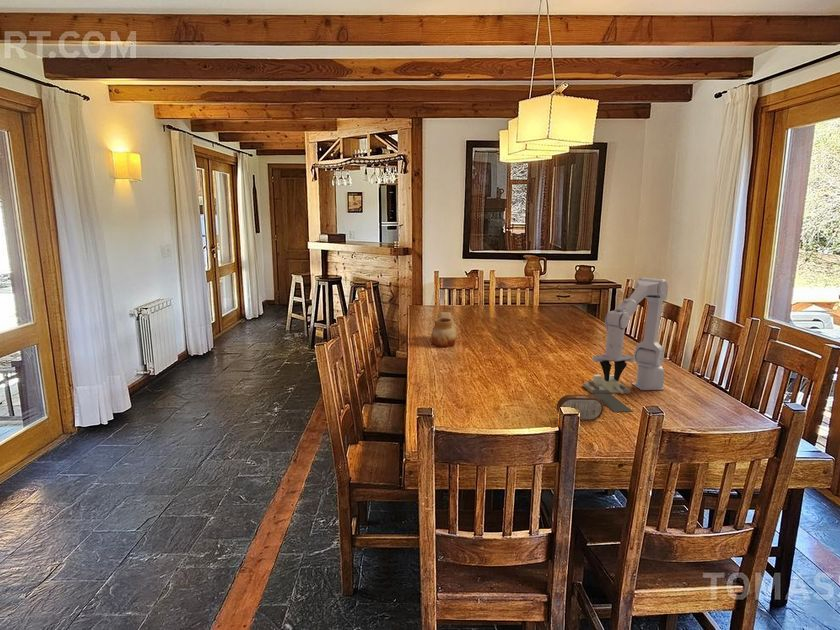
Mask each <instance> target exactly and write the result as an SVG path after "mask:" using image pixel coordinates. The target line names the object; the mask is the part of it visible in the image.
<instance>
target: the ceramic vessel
mask: <svg viewBox="0 0 840 630" xmlns="http://www.w3.org/2000/svg"><path fill="white" fill-rule="evenodd" d="M433 322H434V325H433V327H432V331H431V334H430V336H431V337H430V342H431V344H432V345H433V346H435V347H438V348H445V349H446V348H449V347H454V346H455V345H456V341H457V339H458V332H459V331H458V327H457V324H456V323H455V321H454V318H453V316H452V312H449V311H444V312H443V311H440V312H438V315H437V318H435V319H434V321H433Z"/></svg>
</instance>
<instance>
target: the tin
mask: <svg viewBox="0 0 840 630" xmlns="http://www.w3.org/2000/svg"><path fill="white" fill-rule="evenodd" d="M560 407H571V408H575V409H578V410H579V412H580V421H587V422H589V421H590V422H591V421H595V420H597V419H599V418H600V417H601V416H602V414H603V412H604V404H603V403H602V402H601V401H600V400H599V398H597V397H596V396H594V395H593V394H566V395H562V397H561V398H560V399H559V400H558V401H557V403H556V411H557V413H558V412H559V408H560Z"/></svg>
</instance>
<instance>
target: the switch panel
mask: <svg viewBox="0 0 840 630" xmlns="http://www.w3.org/2000/svg"><path fill="white" fill-rule="evenodd" d="M592 381H593V380H588V381H587V382H583V383H582V387H583V388H585V389H586V390H587V391H588V392H589V393H590V394H591V395H593V394H621V393H620V392H610V391H609V390H607V389H606V388H605V387H603V386H602V385H596V384H595V383H593V382H592ZM601 383H602V382H601ZM620 389H621V390H622V391H623V392H624V393H623V394H631V388H629V387H628V386H626V385H625V384H623V383H622V382H620Z"/></svg>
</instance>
